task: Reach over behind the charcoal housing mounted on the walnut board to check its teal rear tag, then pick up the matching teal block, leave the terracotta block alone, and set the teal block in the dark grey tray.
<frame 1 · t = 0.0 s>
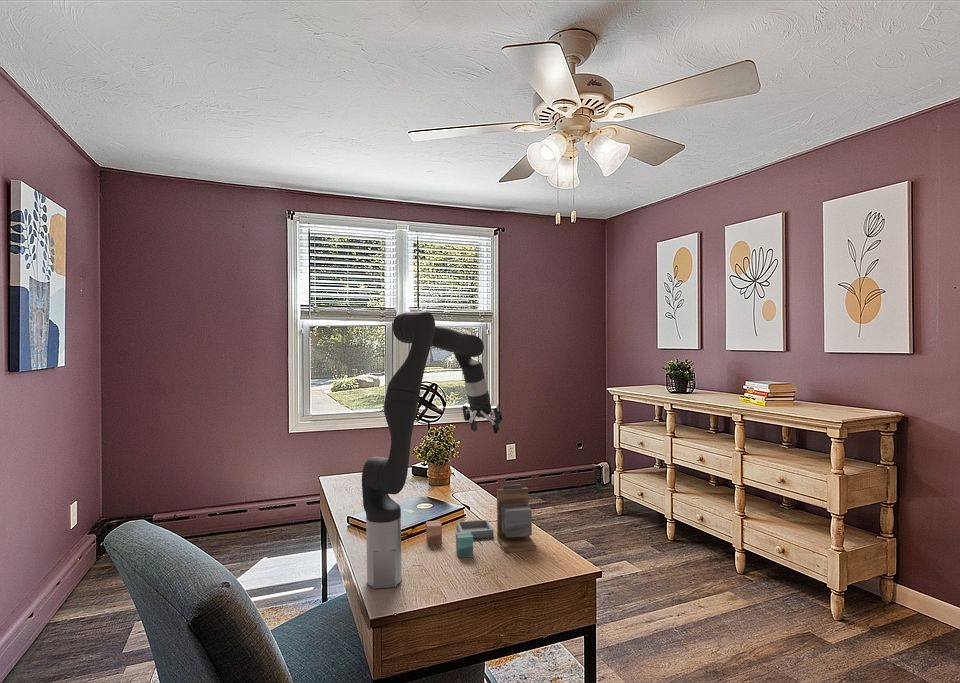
hand: (485, 431, 202), 31 cm above the table, tool tilted 20°, fingers open, 8 cm apart
terracotta block: (434, 542, 182), on the table
mounted unit: (516, 545, 178), on the table
teal block: (464, 554, 171), on the table
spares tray: (474, 533, 189), on the table
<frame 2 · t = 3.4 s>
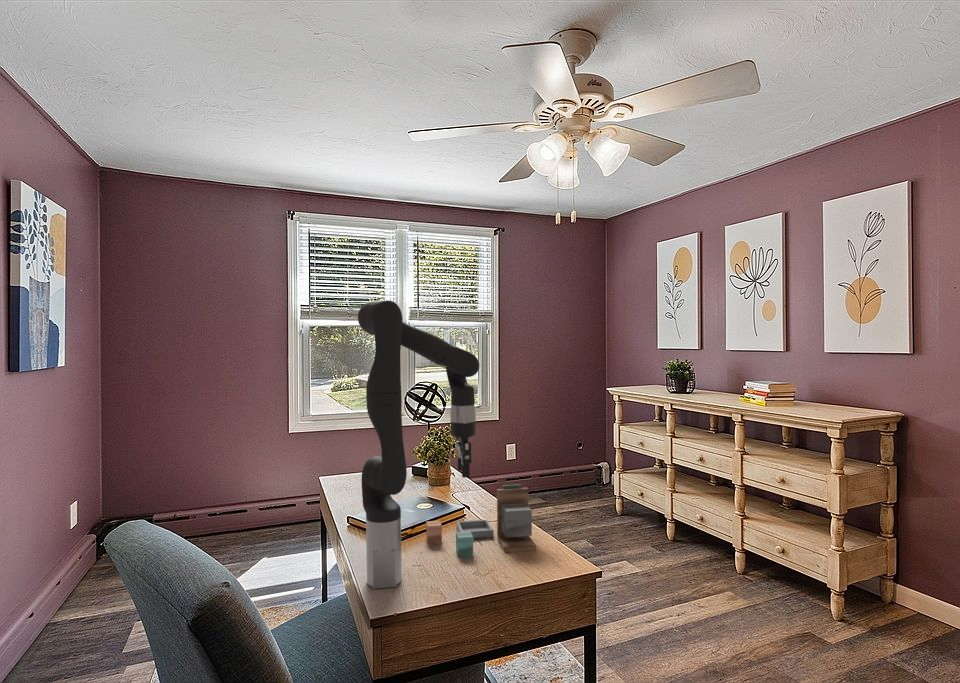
hand: (463, 473, 171), 24 cm above the table, tool pointing down, fingers open, 8 cm apart
nothing on the table moved.
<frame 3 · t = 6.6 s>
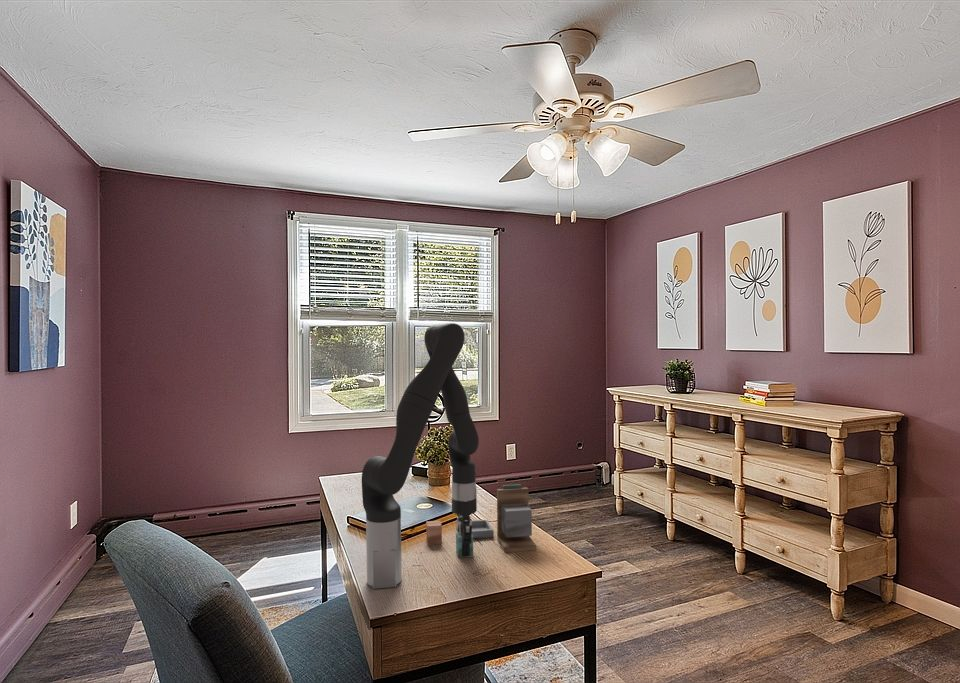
hand: (464, 552, 171), 1 cm above the table, tool pointing down, fingers closed on teal block, 4 cm apart
teal block: (464, 554, 171), on the table, touching gripper
everything else where it was.
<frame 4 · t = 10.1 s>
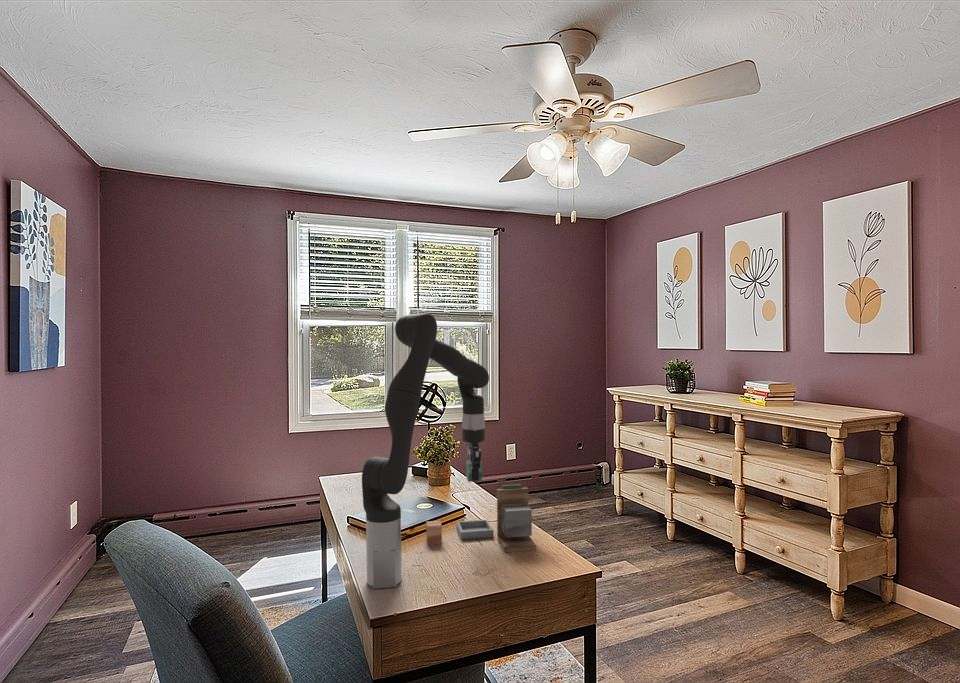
hand: (474, 477, 189), 18 cm above the table, tool pointing down, fingers closed on teal block, 4 cm apart
teal block: (474, 479, 189), point 18 cm above the table, touching gripper
everything else where it was.
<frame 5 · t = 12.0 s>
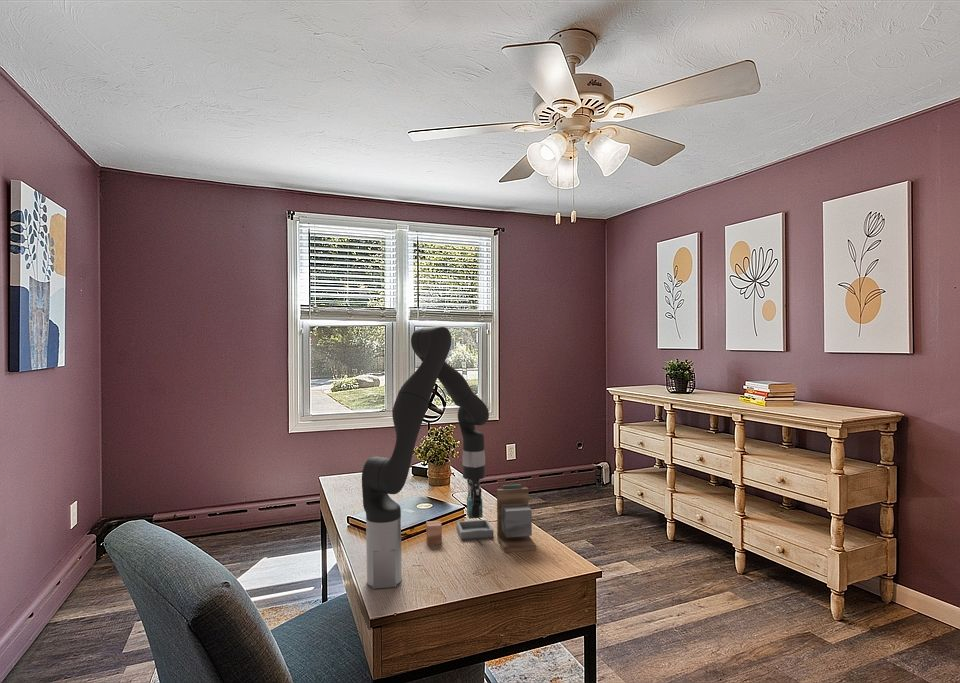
hand: (474, 514, 189), 6 cm above the table, tool pointing down, fingers closed on teal block, 4 cm apart
teal block: (474, 516, 189), point 6 cm above the table, touching gripper
everything else where it was.
when the fingers open (2 cm above the table, at t = 13.7 s): teal block drops 1 cm, resting on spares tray.
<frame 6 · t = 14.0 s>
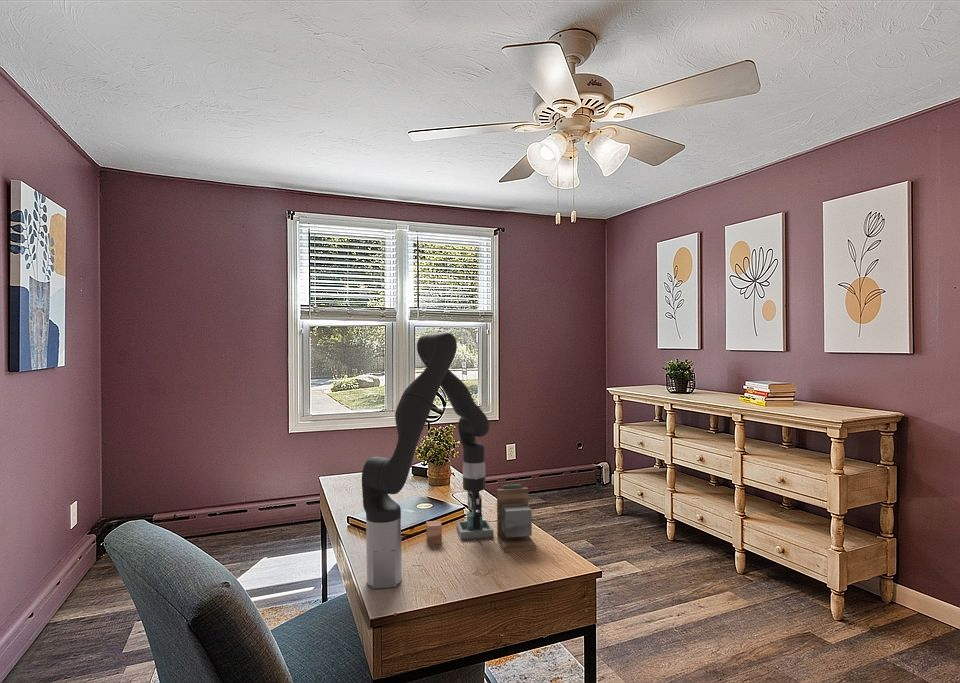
hand: (474, 524, 189), 3 cm above the table, tool pointing down, fingers open, 7 cm apart
teal block: (474, 531, 189), resting on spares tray
everything else where it was.
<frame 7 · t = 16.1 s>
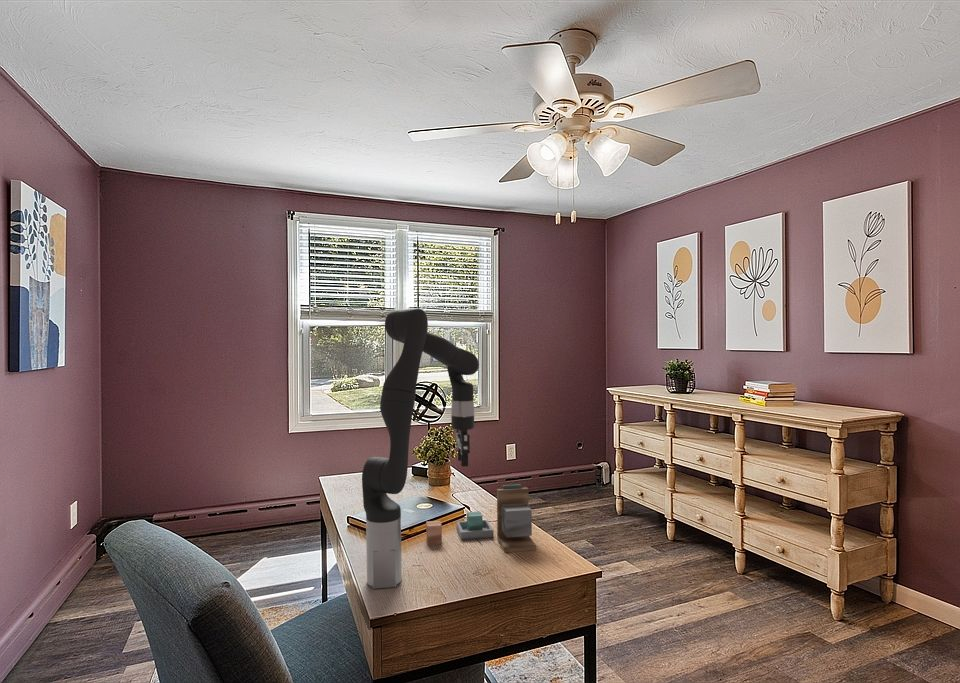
hand: (462, 463, 187), 24 cm above the table, tool pointing down, fingers open, 8 cm apart
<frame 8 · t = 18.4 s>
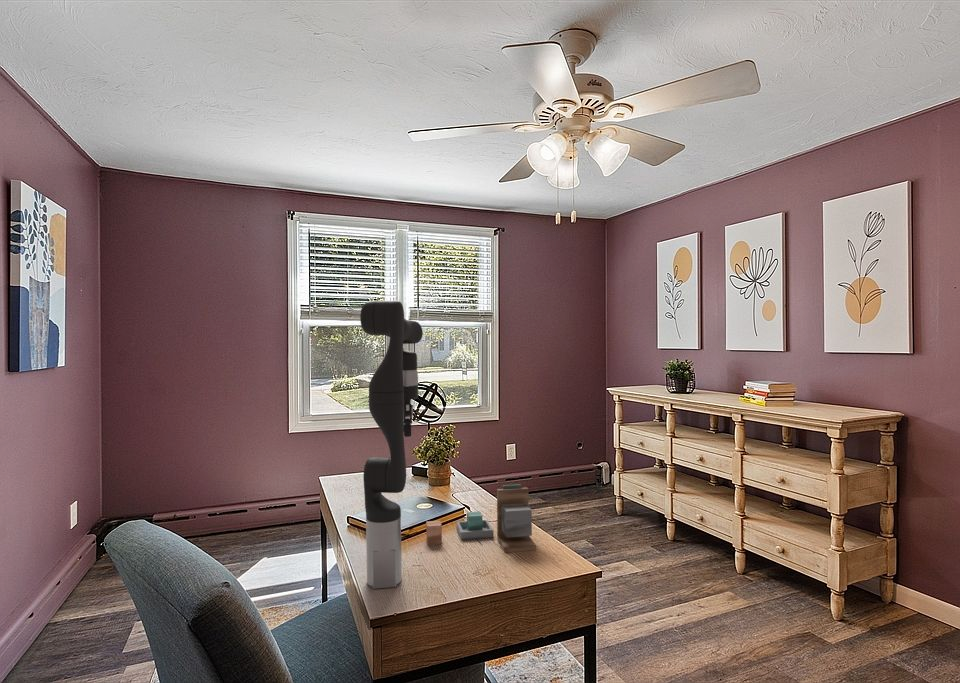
hand: (406, 434, 184), 34 cm above the table, tool pointing down, fingers open, 8 cm apart
at the end: teal block 0.1 cm off-centre on the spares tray, point 0.5 cm above the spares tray's base; terracotta block moved 0.1 cm from its start; teal block tilted 0° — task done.
